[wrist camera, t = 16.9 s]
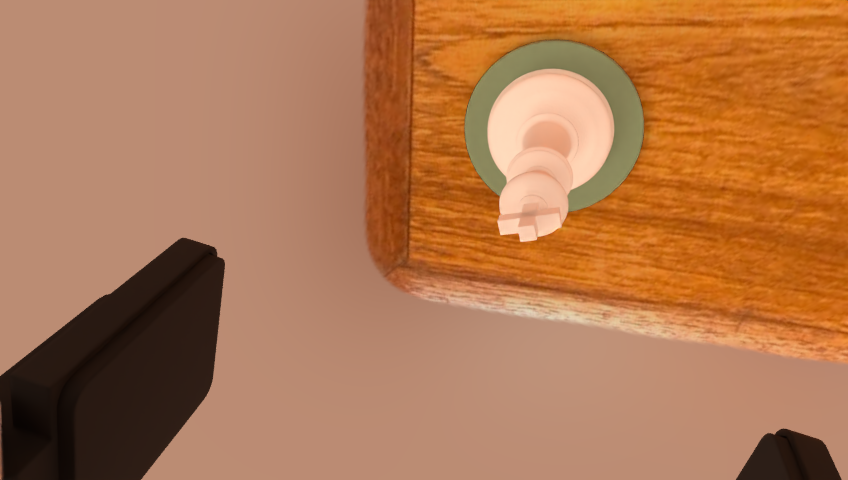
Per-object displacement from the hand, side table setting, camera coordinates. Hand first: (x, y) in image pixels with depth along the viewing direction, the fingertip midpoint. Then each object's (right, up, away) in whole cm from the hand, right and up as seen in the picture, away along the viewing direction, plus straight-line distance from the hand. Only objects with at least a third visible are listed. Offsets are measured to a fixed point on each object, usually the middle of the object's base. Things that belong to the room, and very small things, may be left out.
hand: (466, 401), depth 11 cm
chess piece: (+4, +7, +16) cm, 18 cm away
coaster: (+4, +7, +16) cm, 18 cm away
